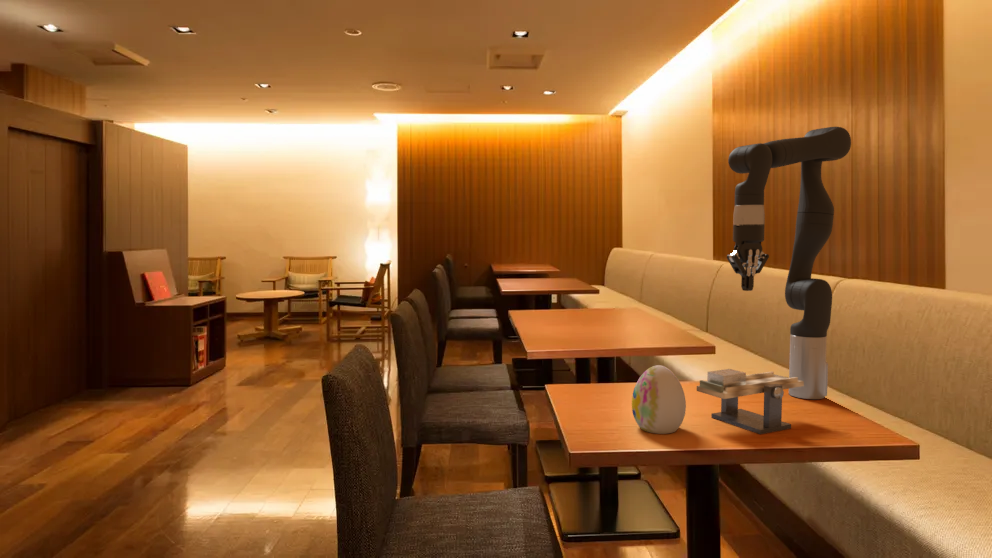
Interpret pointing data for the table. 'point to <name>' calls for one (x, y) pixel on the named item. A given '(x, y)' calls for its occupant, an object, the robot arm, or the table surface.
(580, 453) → the table surface
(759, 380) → the beam
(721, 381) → the rider
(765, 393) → the stand
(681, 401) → the decorative egg
